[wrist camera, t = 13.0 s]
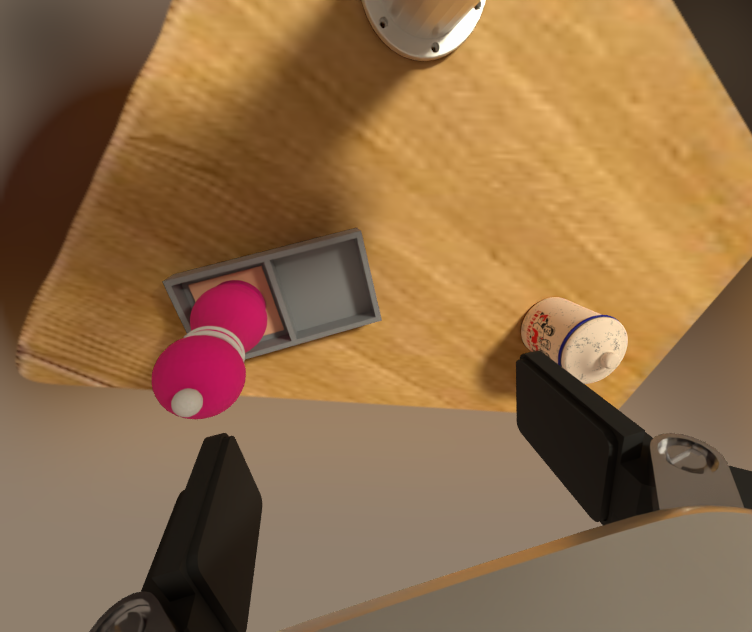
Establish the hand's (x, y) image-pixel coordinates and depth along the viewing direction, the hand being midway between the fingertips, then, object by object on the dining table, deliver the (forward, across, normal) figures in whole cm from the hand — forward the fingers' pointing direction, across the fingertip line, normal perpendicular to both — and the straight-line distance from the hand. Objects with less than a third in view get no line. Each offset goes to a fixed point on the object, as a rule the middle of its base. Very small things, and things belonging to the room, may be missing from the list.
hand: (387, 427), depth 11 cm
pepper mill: (+31, +12, +4) cm, 33 cm away
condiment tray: (+31, +7, +5) cm, 32 cm away
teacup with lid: (+32, -28, +20) cm, 47 cm away
